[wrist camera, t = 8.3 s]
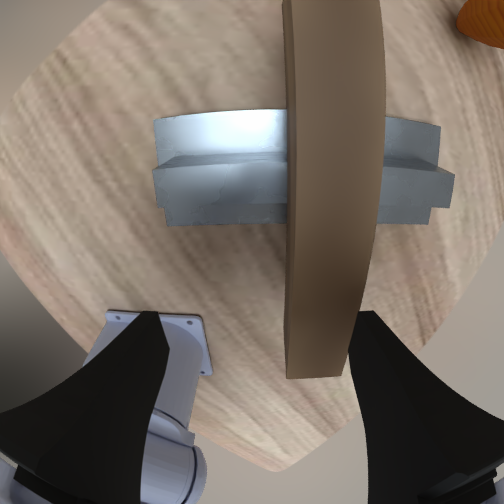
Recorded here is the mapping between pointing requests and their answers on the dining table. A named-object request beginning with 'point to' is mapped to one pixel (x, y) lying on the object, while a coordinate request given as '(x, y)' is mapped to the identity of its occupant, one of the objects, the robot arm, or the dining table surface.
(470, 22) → the carrot
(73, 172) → the dining table surface
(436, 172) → the stand
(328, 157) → the walnut rod
